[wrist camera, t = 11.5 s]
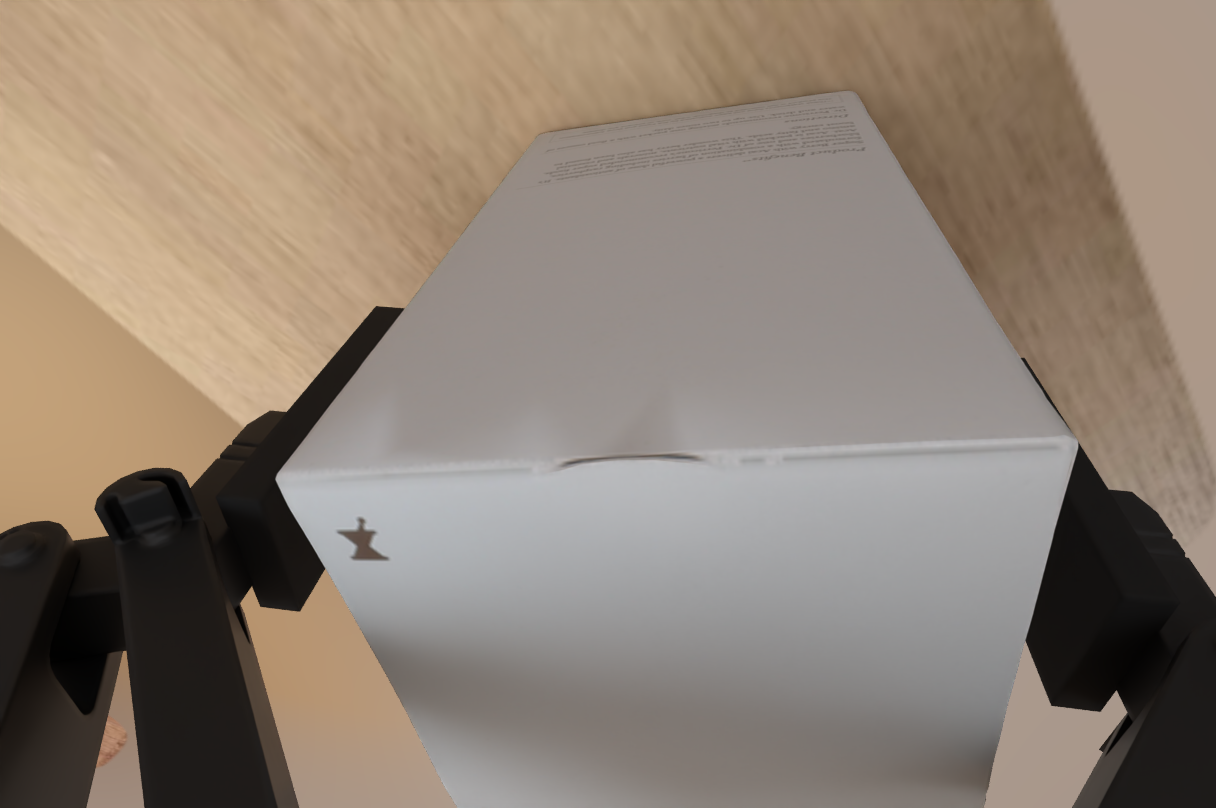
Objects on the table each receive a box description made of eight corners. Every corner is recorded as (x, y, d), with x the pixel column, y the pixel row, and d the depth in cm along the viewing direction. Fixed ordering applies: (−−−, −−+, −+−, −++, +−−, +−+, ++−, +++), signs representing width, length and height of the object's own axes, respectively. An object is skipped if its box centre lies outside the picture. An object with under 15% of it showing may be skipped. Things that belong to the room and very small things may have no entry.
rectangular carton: (588, 389, 25) (451, 839, 13) (532, 128, 20) (235, 471, 8) (857, 374, 23) (981, 886, 11) (868, 82, 19) (1106, 444, 6)
